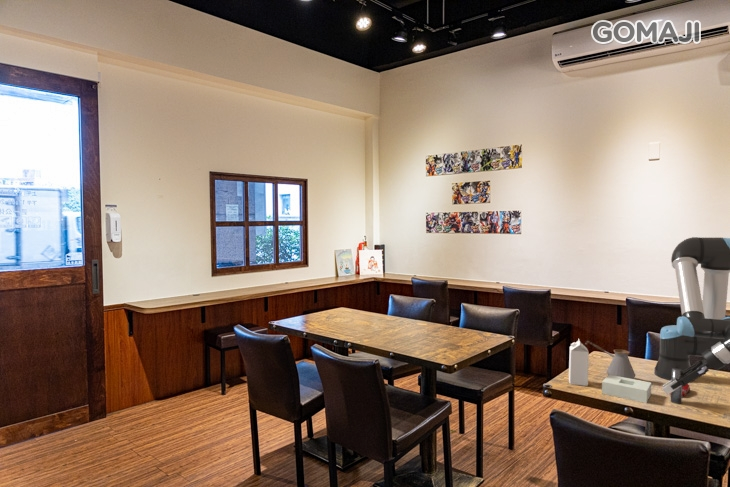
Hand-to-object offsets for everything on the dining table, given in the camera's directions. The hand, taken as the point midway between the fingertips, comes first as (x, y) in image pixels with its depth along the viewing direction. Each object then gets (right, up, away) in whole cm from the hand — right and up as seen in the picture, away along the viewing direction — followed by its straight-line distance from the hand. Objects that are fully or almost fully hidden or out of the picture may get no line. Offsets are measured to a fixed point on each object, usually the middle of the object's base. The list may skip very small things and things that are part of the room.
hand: (664, 390), depth 190 cm
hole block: (-12, -4, +6) cm, 14 cm away
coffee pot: (-8, -3, +28) cm, 29 cm away
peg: (+3, -4, -2) cm, 6 cm away
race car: (+11, -4, +8) cm, 15 cm away
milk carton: (-26, -3, +20) cm, 33 cm away
